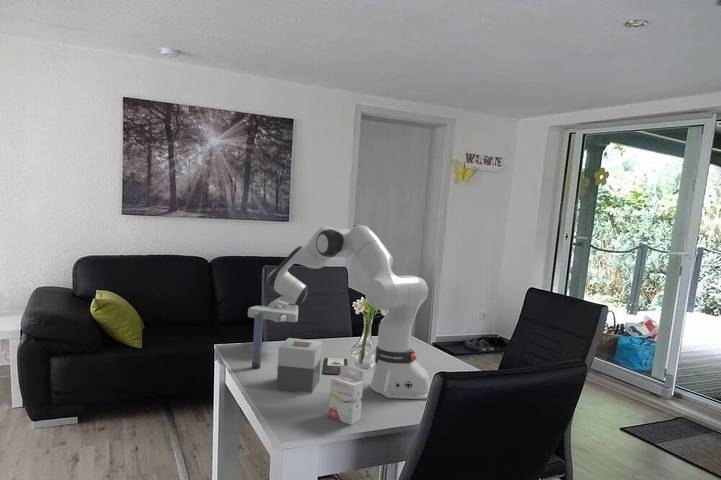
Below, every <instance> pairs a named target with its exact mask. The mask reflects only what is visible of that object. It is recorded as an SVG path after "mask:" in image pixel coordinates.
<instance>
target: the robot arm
mask: <svg viewBox="0 0 721 480" xmlns="http://www.w3.org/2000/svg"><path fill="white" fill-rule="evenodd" d="M351 257H354V258H355V259H356V261H357V263H358V264H359V265H360V268H361V269H362V270H363V272H364V273H365V276H366V279H367V284H366V286H365V292H364V295H365V300H366V302H367V304H368V305H369V306H370V308H372V309H375V310H382V311H388V312H387V314H386V315H385V317H383V319H382V320H381V321H380V323H379V325H378V334H377V335H378V336H377V345H376V347H375V353H374V354H375V355H374V362H375V365H374V371H373V375H372V379H371V381H370V383H369V388H370V390H372V391H374V392H376V393H378V394H380V395H382V396H384V397H385V398H387V399H404V400H405V399H406V400H407V399H410V400H428V399H427V394H428V391H429V387H430V383H431V382H430V377H429V376H430V375H429V373H428V371H427V370H426V369H425V367H423V366H422V365H421V364H420V363H419V362H418V361H416V360H417V354H416V352H415V350H414V349H412V348H411V338H412V329H413V325H414V322H415V318H416V315H417V314H418V311H419V309H420V307H421V305H422V304H423V303H424V302H425V300H426V299H427V298H428V296H429V287H428V284H427V282H426V281H425V280H424V278H422V277H420V276H416V275H413V274H412V275H410V274H408V275H407V274H406V275H396V273H394V272H393V270H392V267H393V263H394V258H393V256H392V255H391V253H390V251H389V250H388V249H387V248H386V246H385V245H384V244H383V242H382V241H381V239H380V238H379V236H377V235H376V233H374V231H373V230H372V229H370V228H369V227H368V226H367V225H365V224H357V225H356V226H354V227H352V228H351V229H350V228H334V227H331V226H328V225H326V226H325V225H324V226H322V227H320V228H319V229H318V230H317V231H316V232H315V233H314V234H313V235H312V237H311V239H309V241H308V243H307V244H306V245H304V246H300V245H298V246H297V247H295V248H294V249H293V250H292V251H291V252H290V253H289V254H288V255H287V256H286V258H285V259H283V261H282V262H281V263H280V264H279V265H278V266H277V267H276V268H275V269H273V270H272V271H271V272H270V273H269V274H268V276H267V279H266V280H267V285H268V288H270V289H272V291H274V292H276V293H278V294H279V295H281V296H279V297H277V298H276V299H275V300H272V301H271V302H270V303H269V304H268V305H267V306H265V305H254V306H251V307H248V310H247V317H248V318H251V319H252V318H253V319H255V314H256V313H262V314H263V320H270V321H272V322H275V323H280V322H281V323H283V322H288V323H297V322H298V319H299V307H301V305H302V304H303V303H304V302H305V301H306V298H307V297H308V293H309V291H308V286H307V285H306V284H305V283H303V282H302V281H300V280H299V279H298V278H297V277H296V276H294V275H292V274H291V273H290V272H289V271H288V270H289V269H290V268H291V267H292V266H293V265H295V264H296V265H300V266H304V267H306V268H309V269H321V268H324V267H325V266H326V265H327V264H328V263H329V262H330V260H331V259H332V258H351Z"/></svg>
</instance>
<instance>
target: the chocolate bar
mask: <svg viewBox="0 0 721 480" xmlns="http://www.w3.org/2000/svg"><path fill="white" fill-rule="evenodd" d="M341 365H345V366H348V359H347V358H334V357H324V362H323V367H322V375H325V376H337V375H339V374H340V366H341Z"/></svg>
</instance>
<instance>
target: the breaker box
mask: <svg viewBox="0 0 721 480" xmlns="http://www.w3.org/2000/svg"><path fill="white" fill-rule="evenodd" d="M322 344H323V341H322V340H313V339H304V338H303V339H302V338H293V337H288V338H287V339H285V341H284V342H283V343H282V344H280V345H279V346H278V355H277V356H278V358H277V370H276V371H277V375H276V389H275V390H280V391H281V390H283V391H291V392H300V393H307V394H308V393H310V394H313V392H314V391H315V389H316V387H317V385H318V384H319V381H320V380H321V379H320V377H321V376H320V375H321V365H322V363H321V362H322V361H321V360H322V359H321V358H322Z"/></svg>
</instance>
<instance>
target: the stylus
mask: <svg viewBox="0 0 721 480" xmlns="http://www.w3.org/2000/svg"><path fill="white" fill-rule="evenodd" d="M253 321H254V324H253V325H254V326H253V341H252V342H253V343H252V357H251V358H252V359H251V368H252V369H253V370H258V369H261V362H262V361H261V358H262V343H263V342H262V341H263V340H262V339H263V325H264V324H263V323H264V319H263V314H262V313H256V314H255V318H254V320H253Z"/></svg>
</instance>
